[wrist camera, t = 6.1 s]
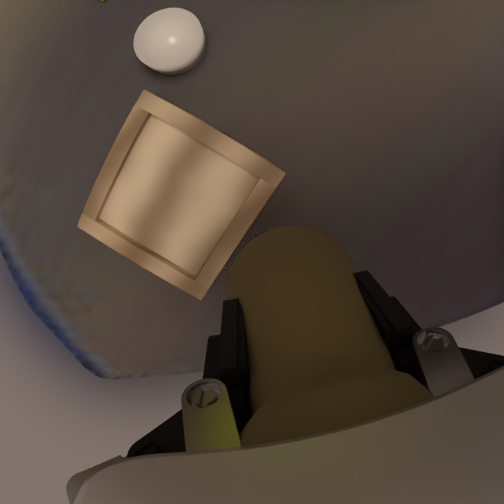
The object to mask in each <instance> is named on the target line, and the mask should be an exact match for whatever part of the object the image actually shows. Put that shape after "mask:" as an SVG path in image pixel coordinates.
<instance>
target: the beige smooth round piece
mask: <svg viewBox="0 0 504 504" xmlns="http://www.w3.org/2000/svg"><path fill="white" fill-rule="evenodd" d="M206 48H207V39H206V36H205V34H204V31H203V29H202V27H201V24H200V22H199V20H198V19H197V18H196V16H195V15H193V14H192V13H191V12H189V11H187V10H184V9H181V8H167V9H162V10H159V11H157V12H155V13H153V14H151V15H150V16H149V17H147V18H146V19H145V20H144V21H143V22H142V23H141V24H140V26H139V27H138V29H137V31H136V34H135V37H134V50H135V53H136V55H137V57H138V58H139V59H140V60H141V61H142V62H143V63H144V64H146V65H147V66H149V67H150V68H152V69H154V70H155V71H157V72H159V73H161V74H164V75H179V74H183V73H185V72H188V71H189V70H191V69H193V68H194V67H195V66H196V65H198V64H199V62H200V61H201V60H202V58H203V57H204V55H205V52H206Z"/></svg>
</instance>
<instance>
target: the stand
mask: <svg viewBox="0 0 504 504" xmlns="http://www.w3.org/2000/svg"><path fill="white" fill-rule="evenodd" d="M285 174H286V173H285V172H284V171H283V170H282V169H280V168H279V167H277V166H276V165H274V164H273V163H271V162H270V161H268V160H266V159H265V158H263V157H262V156H260V155H259V154H257V153H255V152H254V151H252V150H251V149H249V148H248V147H246V146H244V145H243V144H241V143H239V142H238V141H236V140H235V139H233V138H231V137H230V136H228V135H226V134H225V133H223V132H221V131H220V130H218V129H216V128H215V127H213V126H211V125H209V124H208V123H206V122H204V121H203V120H201V119H199V118H197V117H196V116H194V115H192V114H190V113H189V112H187V111H185V110H183V109H181V108H180V107H178V106H176V105H174V104H172V103H171V102H169V101H167V100H165V99H163V98H161V97H159V96H157V95H156V94H153V93H151V92H149V91H146V90H143V92H142V94H141V95H140V97H139V99H138V100H137V102H136V104H135V105H134V107H133V109H132V111H131V112H130V114H129V116H128V118H127V120H126V121H125V123H124V125H123V127H122V129H121V131H120V133H119V134H118V136H117V138H116V140H115V142H114V144H113V146H112V148H111V150H110V152H109V154H108V156H107V158H106V160H105V162H104V164H103V167H102V169H101V171H100V173H99V175H98V177H97V180H96V182H95V184H94V186H93V189H92V191H91V193H90V196H89V198H88V200H87V203H86V205H85V208H84V210H83V213H82V215H81V218H80V220H79V223H78V225H77V227H79V228H81V229H82V230H84V231H85V232H87V233H88V234H90V235H91V236H93V237H95V238H96V239H98V240H99V241H101V242H102V243H104V244H106V245H107V246H109V247H110V248H112V249H114V250H115V251H117V252H119V253H120V254H122V255H123V256H125V257H127V258H128V259H130V260H132V261H133V262H135V263H137V264H138V265H140V266H142V267H143V268H145V269H147V270H148V271H150V272H152V273H154V274H155V275H157V276H159V277H160V278H162V279H164V280H166V281H167V282H169V283H171V284H173V285H174V286H176V287H178V288H180V289H181V290H183V291H185V292H187V293H189V294H190V295H192V296H194V297H196V298H198V299H199V300H202V298H203V297H204V295H205V294H206V292H207V291H208V289H209V288H210V286H211V285H212V283H213V282H214V280H215V278H216V277H217V275H218V274H219V272H220V271H221V269H222V268H223V266H224V265H225V263H226V262H227V260H228V259H229V257H230V256H231V254H232V253H233V251H234V250H235V248H236V247H237V245H238V244H239V242H240V241H241V239H242V238H243V236H244V235H245V233H246V232H247V230H248V229H249V227H250V226H251V224H252V223H253V221H254V220H255V218H256V217H257V215H258V214H259V212H260V211H261V209H262V208H263V206H264V205H265V204H266V202H267V201H268V199H269V198H270V196H271V195H272V193H273V192H274V190H275V189H276V187H277V186H278V184H279V183H280V181H281V180H282V178H283V177H284V175H285Z"/></svg>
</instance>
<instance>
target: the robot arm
mask: <svg viewBox="0 0 504 504" xmlns="http://www.w3.org/2000/svg"><path fill="white" fill-rule="evenodd" d="M353 274H354V276H355V280H356V282H357V285H358V288H359V291H360V293H361V295H362V297H363V299H364V301H365V303H366V305H367V307H368V309H369V311H370V313H371V315H372V317H373V319H374V321H375V323H376V325H377V327H378V329H379V331H380V333H381V335H382V337H383V340H384V342H385V344H386V346H387V348H388V351H389V353H390V356H391V358H392V361H393V364H394V366H395V369H396V371H399V372H404V373H408V374H410V375H411V376H412V377H413V378H414V379H416V380H417V381H418V382H419V383H421V384H422V385H423V386H424V387H425V388H426V389H428V390H429V391H430V392H431V393H432V394H433V395H434V396H435V397H433V398H431V399H428V400H426V401H423V402H421V403H418V404H415V405H412V406H410V407H407V408H404V409H401V410H398V411H395V412H392V413H389V414H386V415H383V416H380V417H378V418H375V419H371V420H368V421H365V422H361V423H358V424H354V425H351V426H347V427H343V428H339V429H335V430H331V431H326V432H321V433H317V434H312V435H308V436H303V437H298V438H293V439H287V440H282V441H276V442H270V443H263V444H257V445H249V446H241V447H240V444H241V441H240V434H241V431H242V430H243V428H244V427H245V426H246V424H247V423H248V422H249V420H250V419H251V418H252V413H251V409H250V404H249V400H248V392H249V385H250V379H249V368H248V357H247V346H246V334H245V322H244V312H243V309H242V306H241V303H240V301H239V302H238V298H235V299H230V300H224V302H223V312H222V323H221V334H220V335H214V336H209V338H208V344H207V351H206V359H205V366H204V374H203V379H201V380H198V381H196V382H194V383H192V384H191V385H189V386H188V387H187V388H186V389H185V390H184V392H183V394H182V398H181V402H182V409H181V410H180V411H179V412H177V413H176V414H174V415H173V416H172V417H170V418H169V419H168V420H166V421H165V422H164V423H162V424H161V425H159V426H158V427H157V428H155V429H154V430H152V431H151V432H150V433H148V434H147V435H145V436H144V437H142V438H141V439H140V440H138V441H137V442H136V443H134V444H133V445H132V446H131V448H130V449H129V451H128V454H127V456H125V457H122V456H121V455H119V456H117V457H114V458H112V459H110V460H108V461H106V462H103V463H101V464H98V465H96V466H94V467H91V468H89V469H87V470H84V471H82V472H79V473H77V474H75V475H73V476H72V477H71V478H70V479H69V481H68V483H67V486H66V490H67V495H68V499H69V502H70V504H504V356H502V355H497V354H491V353H486V352H481V351H475V350H470V349H465V348H460V347H458V345H457V343H456V341H455V340H454V338H453V336H452V335H451V334H450V333H449V332H448V331H446V330H445V329H442V328H437V327H429V328H424V329H421V328H420V327H419V325H418V324H417V323H416V322H415V320H414V319H413V318H412V317H411V316H410V314H409V313H408V312H407V311H406V310H405V308H404V307H403V306H402V305H401V304H400V302H399V301H398V300H397V299H396V298H395V297H389V295H388V294H387V293H386V292H385V291H384V289H383V288H382V287H381V286H380V285H379V283H378V282H377V281H376V280H375V279H374V278H373V276H372V275H371V274H370V273H369V272H368V271H367V270H365V271H361V272H357V273H353Z"/></svg>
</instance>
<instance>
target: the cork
mask: <svg viewBox="0 0 504 504" xmlns="http://www.w3.org/2000/svg"><path fill="white" fill-rule="evenodd" d="M353 273H356V271H355V269H354V266H353V264H352V262H351V260H350V258H349V256H348V253H347V251H346V249H345V248H344V247H343V246H342V245H341V244H340V243H339V242H338V241H337V240H336V239H335V238H334V237H333V236H332V235H330V234H328V233H325V232H323V231H321V230H319V229H317V228H314V227H309V226H299V225H288V226H284V227H279V228H274V229H270V230H268V231H266V232H264V233H263V234H261V235H259V236H257V237H256V238H254V239H252V240H250V241H249V242H248V244H247V245H246V246H245V247H244V248H243V249H242V250H241V251H240V252H239V253H238V254H237V255H236V257H235V259H234V261H233V264H232V266H231V268H230V270H229V273H228V278H227V291H226V294H227V299H228V300H230V299H235V298H238V302H239V301H240V303H241V306H242V309H243V312H244V322H245V334H246V346H247V357H248V368H249V379H250V385H249V392H248V400H249V404H250V409H251V413H252V418H251V419H250V420H249V422H248V423H247V424H246V426H245V427H244V428H243V430H242V431H241V434H240V441H241V444H240V447H241V446H249V445H257V444H263V443H270V442H276V441H282V440H287V439H293V438H298V437H303V436H308V435H312V434H317V433H321V432H326V431H331V430H335V429H339V428H343V427H347V426H351V425H354V424H358V423H361V422H365V421H368V420H371V419H375V418H378V417H380V416H383V415H386V414H389V413H392V412H395V411H398V410H401V409H404V408H407V407H410V406H412V405H415V404H418V403H421V402H423V401H426V400H428V399H431V398H433V397H435V396H434V395H433V394H432V393H431V392H430V391H429V390H428V389H426V388H425V387H424V386H423V385H422V384H421V383H419V382H418V381H417V380H416V379H414V378H413V377H412V376H411V375H410V374H408V373H404V372H399V371H396V369H395V366H394V364H393V361H392V358H391V356H390V353H389V351H388V348H387V346H386V344H385V342H384V340H383V337H382V335H381V333H380V331H379V329H378V327H377V325H376V323H375V321H374V319H373V317H372V315H371V313H370V311H369V309H368V307H367V305H366V303H365V301H364V299H363V297H362V295H361V293H360V291H359V288H358V285H357V282H356V280H355V276H354V274H353Z"/></svg>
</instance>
